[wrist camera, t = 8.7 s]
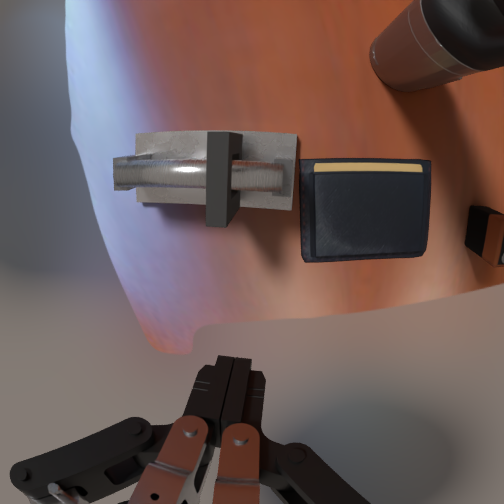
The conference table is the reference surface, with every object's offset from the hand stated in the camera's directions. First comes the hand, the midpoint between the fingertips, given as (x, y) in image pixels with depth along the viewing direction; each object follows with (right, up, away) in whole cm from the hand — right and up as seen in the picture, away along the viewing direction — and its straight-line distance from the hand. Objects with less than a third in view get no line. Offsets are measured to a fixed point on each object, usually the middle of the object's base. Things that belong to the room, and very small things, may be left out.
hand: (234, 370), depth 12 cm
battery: (+37, +10, +24) cm, 45 cm away
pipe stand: (-5, +17, +25) cm, 31 cm away
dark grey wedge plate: (-1, +15, +22) cm, 27 cm away
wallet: (+17, +11, +26) cm, 33 cm away
